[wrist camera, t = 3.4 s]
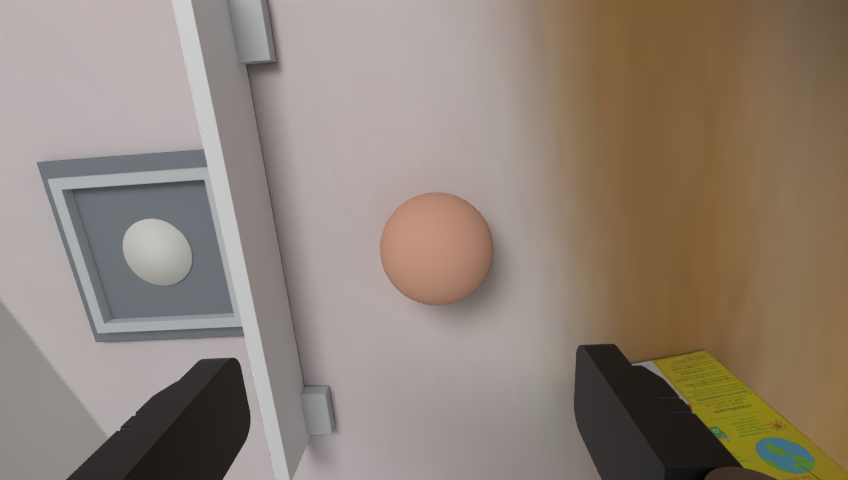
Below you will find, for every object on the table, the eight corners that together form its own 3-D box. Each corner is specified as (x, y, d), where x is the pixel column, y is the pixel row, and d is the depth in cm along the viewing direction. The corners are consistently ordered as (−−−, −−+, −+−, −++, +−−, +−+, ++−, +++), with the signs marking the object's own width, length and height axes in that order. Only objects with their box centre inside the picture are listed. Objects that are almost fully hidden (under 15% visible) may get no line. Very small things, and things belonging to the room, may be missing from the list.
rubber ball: (485, 181, 22) (498, 200, 17) (488, 277, 24) (501, 322, 18) (383, 188, 22) (364, 209, 17) (392, 282, 24) (378, 328, 19)
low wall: (264, -17, 20) (221, -49, 16) (336, 431, 27) (318, 483, 23) (184, -9, 20) (123, -39, 16) (276, 433, 27) (249, 484, 23)
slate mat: (235, 147, 22) (225, 148, 21) (271, 331, 25) (264, 339, 24) (43, 161, 23) (25, 163, 22) (101, 338, 26) (87, 347, 25)
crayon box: (587, 411, 26) (698, 635, 15) (580, 371, 25) (691, 575, 14) (711, 390, 25) (929, 609, 14) (707, 347, 24) (936, 543, 13)
